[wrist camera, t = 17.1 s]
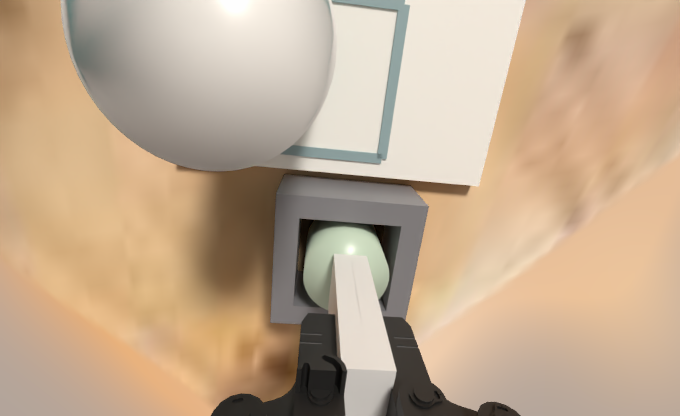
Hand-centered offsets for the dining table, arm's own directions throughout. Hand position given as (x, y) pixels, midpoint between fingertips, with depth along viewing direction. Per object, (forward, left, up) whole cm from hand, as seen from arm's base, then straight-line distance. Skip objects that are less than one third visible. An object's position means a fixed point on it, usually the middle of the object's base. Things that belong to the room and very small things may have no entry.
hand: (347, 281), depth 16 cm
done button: (0, 0, -4) cm, 4 cm away
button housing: (0, 0, -5) cm, 5 cm away
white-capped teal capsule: (-4, +9, -4) cm, 10 cm away
